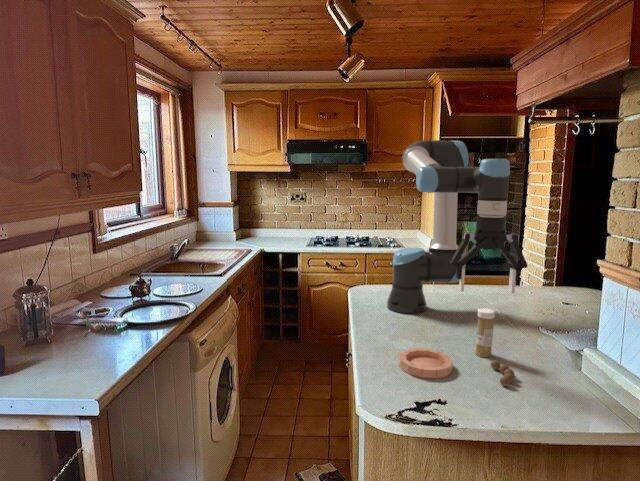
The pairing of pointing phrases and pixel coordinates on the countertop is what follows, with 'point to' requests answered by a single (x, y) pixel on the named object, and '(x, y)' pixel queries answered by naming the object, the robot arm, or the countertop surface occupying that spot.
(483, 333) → the sprinkles bottle
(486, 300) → the countertop surface
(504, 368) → the bead string
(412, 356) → the saucer
